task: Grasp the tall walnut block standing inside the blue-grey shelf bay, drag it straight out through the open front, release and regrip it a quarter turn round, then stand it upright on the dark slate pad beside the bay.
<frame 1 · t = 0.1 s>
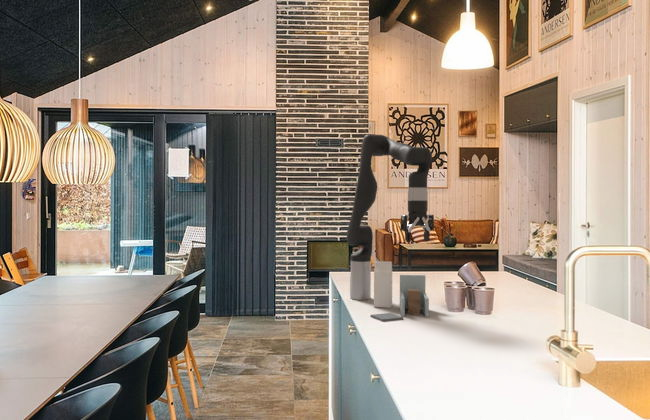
hand: (417, 241, 217), 29 cm above the kitchen island, fingers open, 8 cm apart
slate pad: (386, 318, 216), on the kitchen island
walnut block: (413, 301, 226), in the shelf bay
milk carton: (383, 306, 240), on the kitchen island
shelf bay: (413, 312, 226), on the kitchen island
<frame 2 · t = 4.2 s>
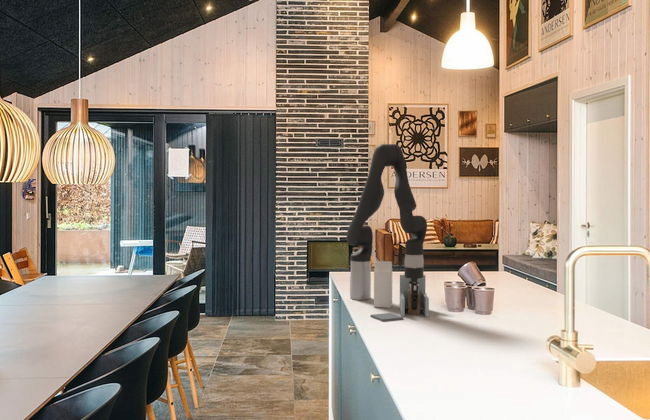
hand: (413, 308, 226), 2 cm above the kitchen island, fingers closed on walnut block, 4 cm apart
walnut block: (413, 301, 226), in the shelf bay, touching gripper
everything else where it was.
when the fingers open (2 cm above the kitchen island, at t = 7.6 s): walnut block stays where it is, on the kitchen island.
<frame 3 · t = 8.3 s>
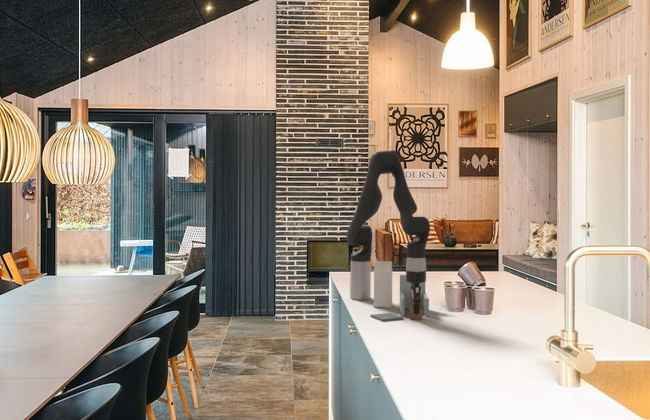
hand: (415, 311, 215), 3 cm above the kitchen island, fingers open, 8 cm apart
walnut block: (416, 306, 215), on the kitchen island
everything else where it was.
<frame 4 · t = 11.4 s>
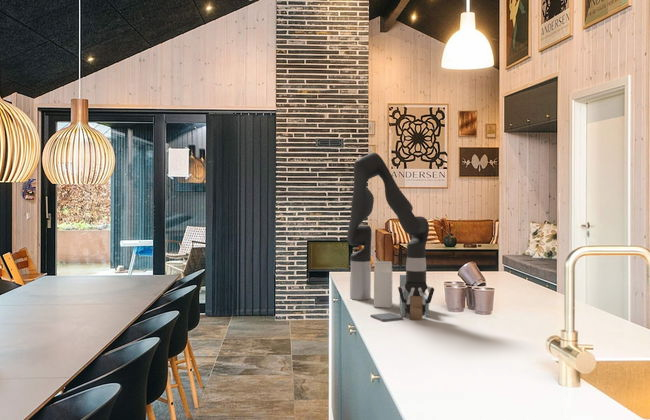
hand: (415, 313, 215), 2 cm above the kitchen island, fingers closed on walnut block, 4 cm apart
walnut block: (415, 306, 215), on the kitchen island, touching gripper
everything else where it was.
when the fingers open (4 cm above the kitchen island, at t = 15.8 s): walnut block stays where it is, resting on slate pad.
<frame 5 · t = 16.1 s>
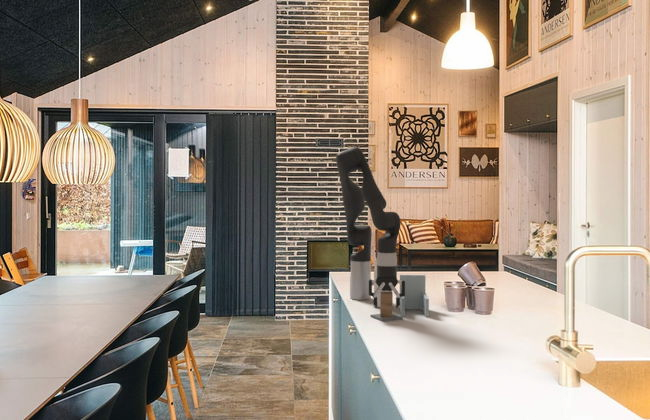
hand: (386, 307, 216), 4 cm above the kitchen island, fingers open, 7 cm apart
walnut block: (386, 304, 216), on the slate pad, point 5 cm above the kitchen island
everything else where it was.
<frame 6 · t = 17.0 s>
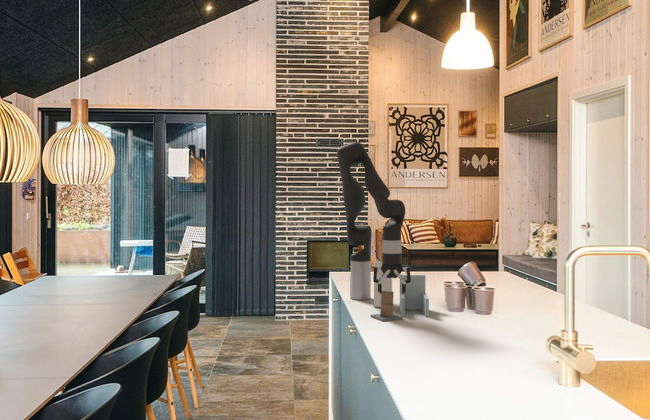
hand: (391, 293, 218), 9 cm above the kitchen island, fingers open, 8 cm apart
walnut block: (386, 303, 216), on the slate pad, point 5 cm above the kitchen island, touching gripper
everything else where it was.
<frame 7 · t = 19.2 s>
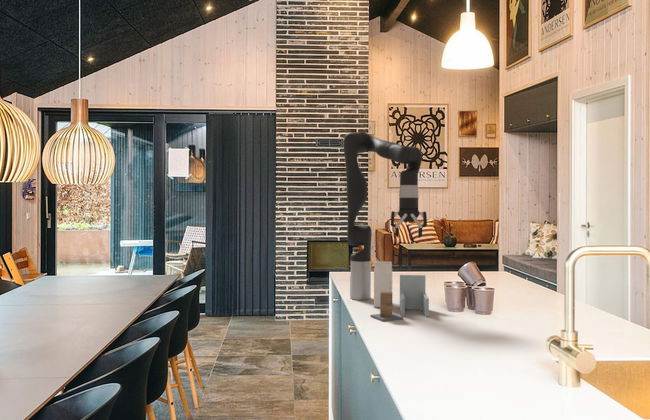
hand: (408, 237, 226), 30 cm above the kitchen island, fingers open, 8 cm apart
walnut block: (386, 304, 216), on the slate pad, point 5 cm above the kitchen island
everything else where it was.
at the end: walnut block inside the target area on the slate pad (0.2 cm from its centre), point 5.3 cm above the slate pad's base; walnut block tilted 0°; the gripper is holding nothing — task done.
